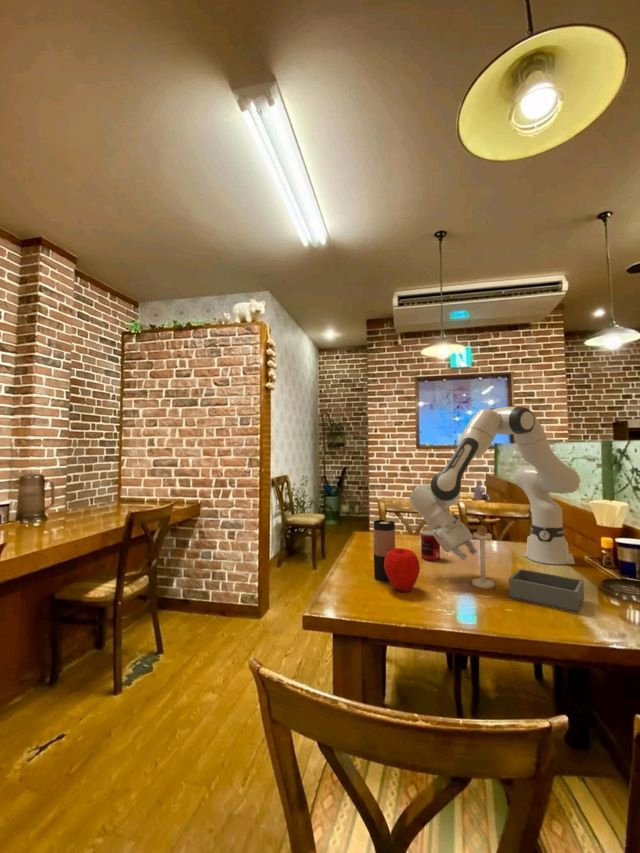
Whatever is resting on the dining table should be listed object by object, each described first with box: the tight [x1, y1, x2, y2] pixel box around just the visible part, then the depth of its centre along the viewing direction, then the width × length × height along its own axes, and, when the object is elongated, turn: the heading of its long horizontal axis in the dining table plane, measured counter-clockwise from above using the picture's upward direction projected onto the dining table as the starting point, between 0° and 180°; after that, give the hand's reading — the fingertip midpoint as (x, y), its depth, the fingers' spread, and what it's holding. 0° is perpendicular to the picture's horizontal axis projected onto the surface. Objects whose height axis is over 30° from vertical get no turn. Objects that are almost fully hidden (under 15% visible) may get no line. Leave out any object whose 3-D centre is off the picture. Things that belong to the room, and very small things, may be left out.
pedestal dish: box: [471, 531, 495, 590], centre depth 134 cm, size 7×7×17 cm
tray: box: [508, 568, 585, 614], centre depth 122 cm, size 13×18×6 cm
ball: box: [476, 525, 488, 535], centre depth 135 cm, size 3×3×3 cm
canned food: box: [420, 530, 441, 562], centre depth 165 cm, size 8×8×11 cm
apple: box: [384, 547, 421, 593], centre depth 130 cm, size 12×12×13 cm
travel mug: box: [373, 519, 396, 583], centre depth 141 cm, size 8×8×20 cm
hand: (470, 555), depth 137 cm, fingers open, 8 cm apart
